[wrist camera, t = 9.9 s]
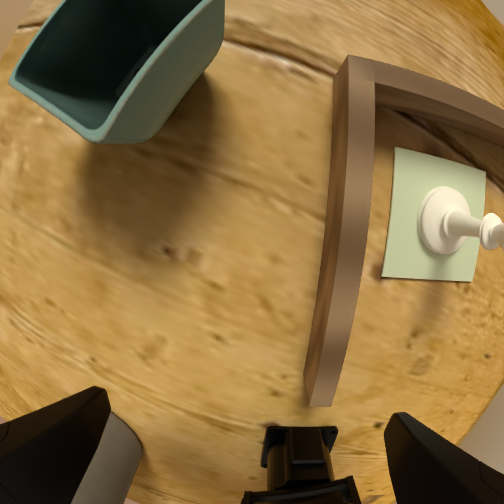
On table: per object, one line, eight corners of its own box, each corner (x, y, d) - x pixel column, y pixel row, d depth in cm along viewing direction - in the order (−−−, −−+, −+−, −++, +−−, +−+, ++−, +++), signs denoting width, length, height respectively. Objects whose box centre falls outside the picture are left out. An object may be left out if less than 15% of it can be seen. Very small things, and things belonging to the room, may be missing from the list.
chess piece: (437, 266, 18) (527, 317, 9) (405, 215, 18) (505, 241, 8) (475, 224, 18) (568, 250, 8) (446, 173, 17) (547, 172, 7)
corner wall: (499, 357, 20) (519, 375, 16) (303, 373, 21) (309, 406, 17) (535, 149, 16) (562, 148, 12) (333, 78, 16) (348, 54, 12)
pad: (470, 280, 19) (472, 281, 18) (380, 275, 19) (381, 276, 19) (484, 171, 17) (485, 171, 17) (394, 147, 17) (395, 146, 17)
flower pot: (245, 61, 16) (230, -19, 8) (168, 164, 18) (96, 148, 9) (153, 19, 16) (102, -44, 7) (86, 110, 17) (5, 82, 9)
